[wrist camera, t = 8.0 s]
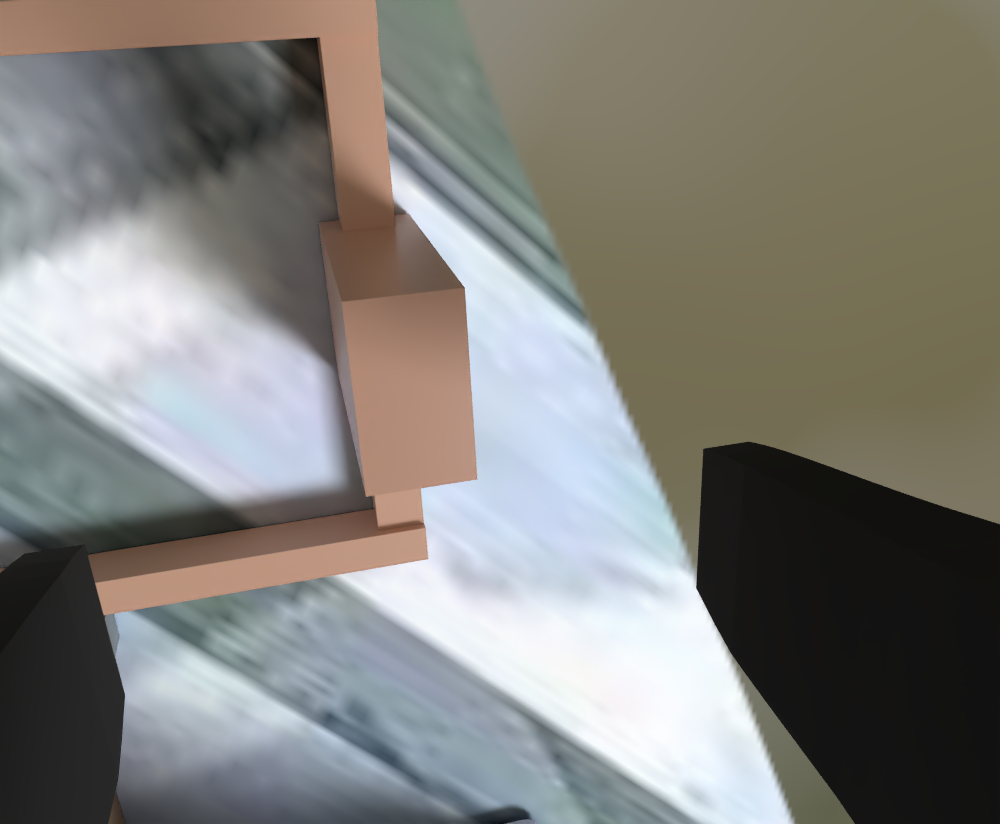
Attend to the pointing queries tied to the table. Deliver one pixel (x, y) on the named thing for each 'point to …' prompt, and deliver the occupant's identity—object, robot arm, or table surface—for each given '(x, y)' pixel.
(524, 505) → the table surface
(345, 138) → the cup sled
